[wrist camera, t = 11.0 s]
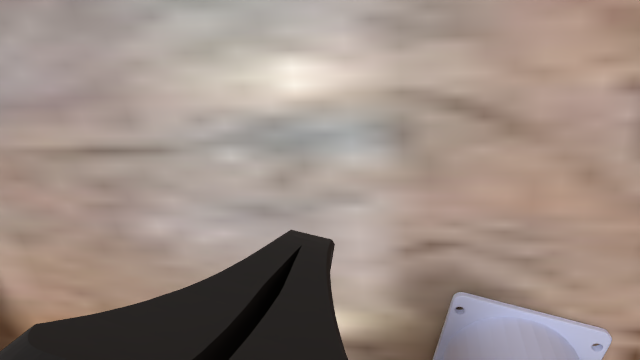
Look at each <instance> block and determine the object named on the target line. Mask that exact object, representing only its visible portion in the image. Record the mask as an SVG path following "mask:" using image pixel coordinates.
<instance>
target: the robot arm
mask: <svg viewBox="0 0 640 360" xmlns="http://www.w3.org/2000/svg"><path fill="white" fill-rule="evenodd" d="M334 245H335V244H334V242H333V241H332V240H331V239H327V238H323V237H319V236H314V235H310V234H306V233H302V232H298V231H294V230H290V231H288V232H287V233H285V234H284V235H282V236H280V237H279V238H277V239H276V240H274V241H273V242H271V243H270V244H268V245H266V246H265V247H263V248H262V249H260V250H259V251H257V252H255V253H254V254H252V255H250V256H249V257H247V258H245V259H244V260H242V261H240V262H238V263H236V264H235V265H233V266H231V267H229V268H227V269H225V270H223V271H222V272H220V273H218V274H216V275H213V276H211V277H209V278H207V279H205V280H202V281H200V282H198V283H195V284H193V285H190V286H188V287H185V288H183V289H180V290H177V291H174V292H171V293H168V294H165V295H162V296H159V297H156V298H153V299H150V300H147V301H144V302H141V303H137V304H133V305H130V306H126V307H122V308H118V309H114V310H110V311H105V312H101V313H96V314H92V315H87V316H81V317H75V318H70V319H64V320H58V321H53V322H47V323H40V324H35V325H34V326H33V327H31V328H30V329H29V330H27V331H26V332H25V333H23V334H22V335H21V336H20V337H18V338H17V339H16V340H14V341H13V342H12V343H11V344H9V345H8V346H7V347H5V348H4V349H3V350H2V351H0V360H348V358H347V355H346V353H345V350H344V346H343V343H342V340H341V336H340V333H339V329H338V325H337V321H336V316H335V311H334V305H333V299H332V292H331V280H330V269H331V263H332V257H333V251H334ZM456 307H463V309H462V310H457V309H456ZM611 341H612V338H611V336H610V334H609V332H608V331H607V330H605V329H603V328H600V327H596V326H592V325H588V324H584V323H580V322H577V321H573V320H569V319H565V318H561V317H557V316H553V315H550V314H546V313H542V312H538V311H534V310H530V309H526V308H523V307H519V306H515V305H511V304H507V303H503V302H499V301H496V300H492V299H488V298H484V297H480V296H476V295H472V294H469V293H465V292H458V293H456V294H454V296H453V297H452V300H451V304H450V307H449V310H448V313H447V316H446V319H445V322H444V325H443V328H442V331H441V335H440V338H439V341H438V344H437V347H436V350H435V353H434V356H433V359H432V360H602V358H603V356H604V355H605V353H606V351H607V349H608V347H609V346H610V344H611ZM596 343H598V344H599V345H597V346H592V345H593V344H596Z"/></svg>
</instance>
